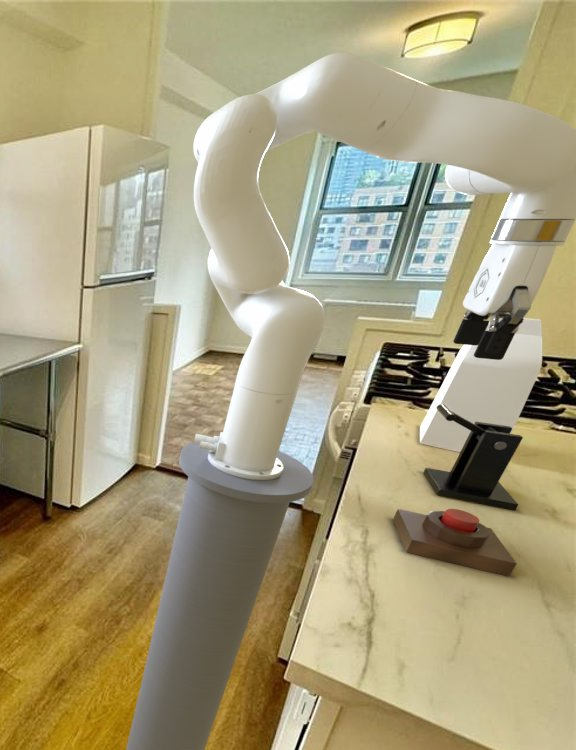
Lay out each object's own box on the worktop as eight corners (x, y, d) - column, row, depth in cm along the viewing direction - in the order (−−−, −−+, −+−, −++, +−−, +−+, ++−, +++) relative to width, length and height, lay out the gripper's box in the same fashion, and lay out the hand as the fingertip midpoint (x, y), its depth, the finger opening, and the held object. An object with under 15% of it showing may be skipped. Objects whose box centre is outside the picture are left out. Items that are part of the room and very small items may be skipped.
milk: (419, 443, 102) (477, 318, 90) (420, 426, 110) (472, 309, 98) (498, 460, 95) (571, 327, 83) (492, 441, 103) (559, 317, 91)
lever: (440, 421, 80) (454, 410, 79) (431, 410, 85) (444, 399, 83) (501, 455, 78) (516, 444, 77) (488, 442, 83) (502, 432, 81)
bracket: (436, 495, 83) (468, 433, 78) (422, 473, 90) (450, 414, 85) (515, 510, 79) (553, 445, 74) (494, 485, 86) (527, 425, 81)
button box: (406, 552, 69) (417, 529, 67) (392, 520, 76) (402, 498, 74) (509, 576, 64) (524, 552, 63) (484, 540, 72) (497, 518, 70)
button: (444, 528, 68) (449, 518, 67) (436, 516, 71) (442, 506, 70) (478, 536, 67) (483, 525, 66) (468, 522, 69) (474, 512, 69)
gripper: (474, 231, 78) (430, 337, 85) (520, 235, 64) (463, 361, 72) (538, 231, 75) (486, 341, 82) (600, 236, 61) (532, 368, 68)
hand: (475, 350), depth 77 cm, fingers open, 9 cm apart
